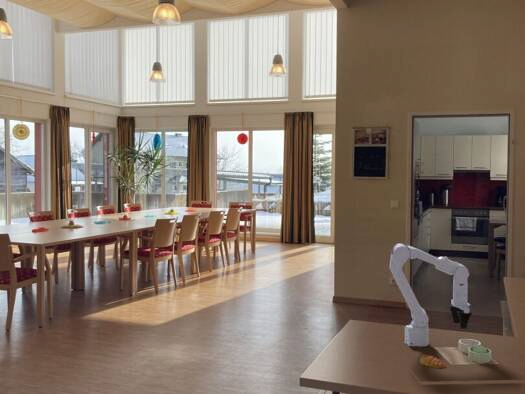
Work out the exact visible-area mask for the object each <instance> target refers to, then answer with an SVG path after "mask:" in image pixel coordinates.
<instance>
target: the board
mask: <svg viewBox="0 0 525 394" xmlns="http://www.w3.org/2000/svg"><path fill="white" fill-rule="evenodd" d="M433 348H434V349H435V351H437V352H438V353H439V354H440V355H441V356H442V357H443V358H444V359H445V360H446V361H447V362H448V363H449V364H450V365H451V366H455V365H456V366H457V365H459V366H460V365H463V366H464V365H466V366H469V365H472V366H473V365H499V363H498V362H497V361H496V360H495V359H493V358H492V357H491V362H488V363H479V362H474V361H471V360H469V359H468V354H467V353H463V352H460V351H459V346H445V347H444V346H440V347H439V346H438V347H433Z"/></svg>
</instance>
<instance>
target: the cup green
mask: <svg viewBox="0 0 525 394" xmlns="http://www.w3.org/2000/svg"><path fill="white" fill-rule="evenodd" d="M473 348H474V347H469V348H468V359H469V360H471V361H474V362H479V363H488V362H491V358H492V350H491V349H489V348H487V347H485V349H486V351H487V353H475V352H473Z"/></svg>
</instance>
